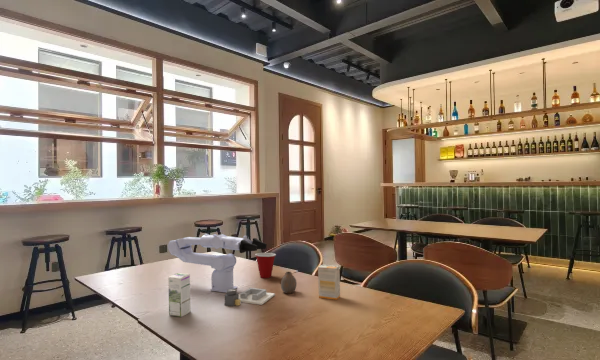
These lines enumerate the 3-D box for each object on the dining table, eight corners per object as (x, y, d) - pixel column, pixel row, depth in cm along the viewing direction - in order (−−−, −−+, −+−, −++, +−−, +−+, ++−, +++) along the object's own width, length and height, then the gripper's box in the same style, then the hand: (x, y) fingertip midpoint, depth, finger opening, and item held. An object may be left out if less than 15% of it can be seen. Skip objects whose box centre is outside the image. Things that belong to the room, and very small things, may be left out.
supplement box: (340, 296, 142) (340, 265, 142) (337, 300, 137) (336, 268, 137) (322, 294, 145) (321, 263, 145) (318, 297, 141) (317, 266, 141)
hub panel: (231, 300, 139) (231, 294, 139) (246, 292, 150) (246, 285, 150) (261, 304, 134) (261, 297, 134) (274, 295, 145) (274, 288, 145)
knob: (224, 305, 134) (224, 291, 134) (230, 301, 138) (230, 288, 138) (236, 306, 132) (236, 292, 132) (242, 303, 136) (241, 289, 136)
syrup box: (191, 311, 128) (190, 273, 128) (181, 317, 122) (180, 277, 122) (178, 310, 130) (178, 272, 130) (168, 315, 124) (167, 276, 124)
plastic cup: (280, 275, 176) (280, 252, 176) (267, 280, 167) (267, 256, 167) (264, 272, 182) (264, 250, 182) (251, 277, 173) (250, 254, 173)
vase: (294, 294, 145) (294, 274, 145) (279, 294, 146) (278, 274, 146) (298, 289, 152) (297, 270, 152) (283, 289, 153) (282, 269, 153)
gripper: (226, 235, 145) (252, 239, 139) (245, 233, 158) (270, 236, 152) (225, 252, 145) (251, 256, 139) (244, 248, 158) (269, 252, 152)
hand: (261, 247), depth 146 cm, fingers open, 7 cm apart
